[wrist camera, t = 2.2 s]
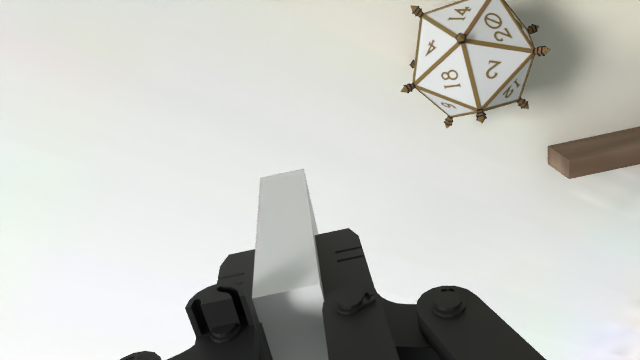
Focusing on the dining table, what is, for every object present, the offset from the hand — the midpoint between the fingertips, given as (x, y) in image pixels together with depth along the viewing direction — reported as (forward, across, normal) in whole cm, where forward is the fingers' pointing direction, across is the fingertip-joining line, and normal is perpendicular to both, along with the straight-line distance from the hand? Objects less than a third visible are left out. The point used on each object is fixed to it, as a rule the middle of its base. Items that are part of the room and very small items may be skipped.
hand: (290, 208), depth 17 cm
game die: (+19, +12, 0) cm, 23 cm away
